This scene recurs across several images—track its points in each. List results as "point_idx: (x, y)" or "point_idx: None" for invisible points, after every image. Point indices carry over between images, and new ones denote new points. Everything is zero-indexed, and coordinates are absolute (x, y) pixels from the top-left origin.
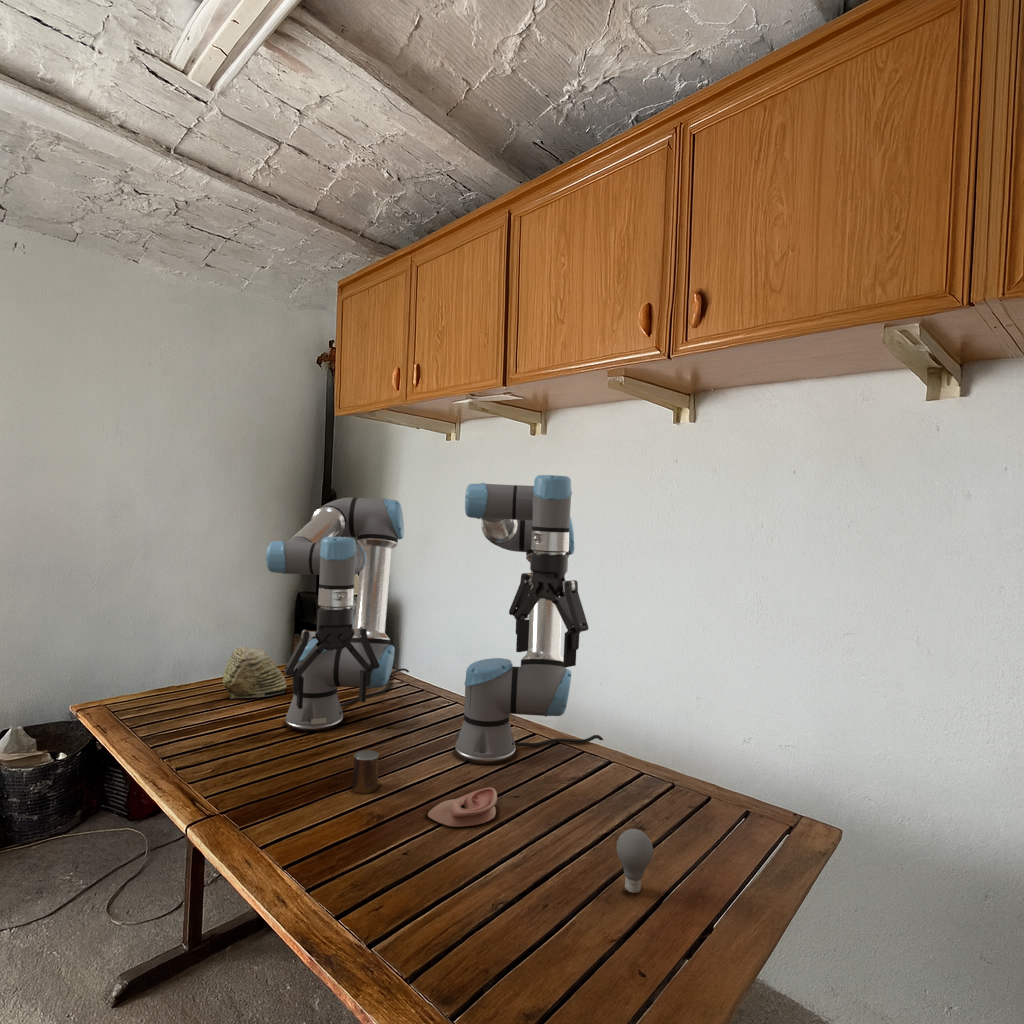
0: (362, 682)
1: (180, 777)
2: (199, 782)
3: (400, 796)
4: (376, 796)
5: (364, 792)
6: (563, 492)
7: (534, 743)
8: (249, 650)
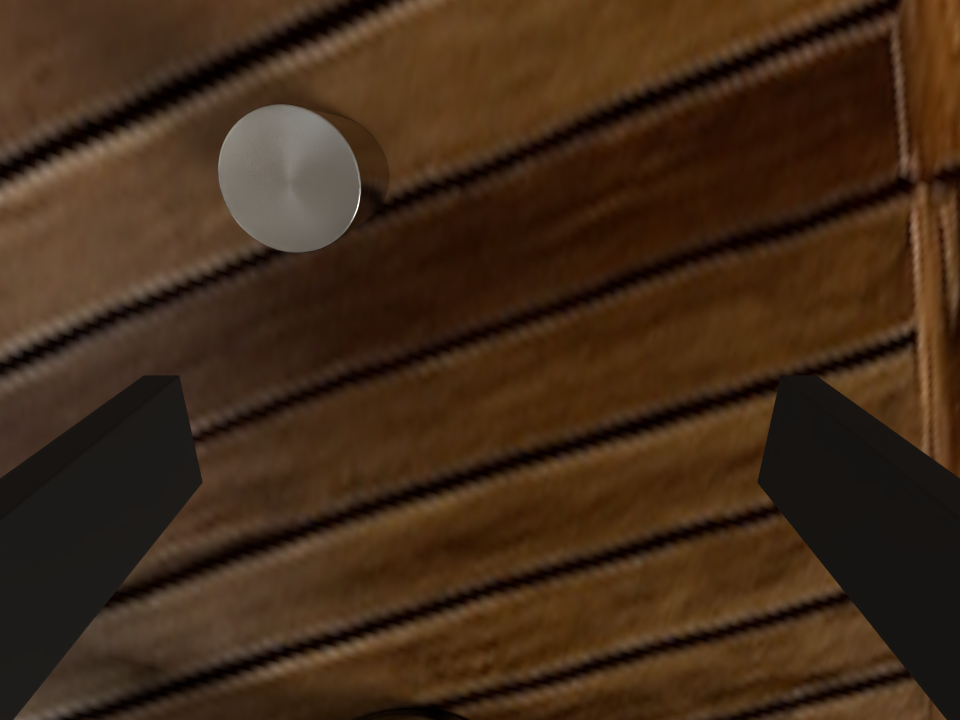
0: (33, 514)
1: None
2: None
3: (193, 15)
4: (302, 66)
5: (347, 118)
6: None
7: None
8: None
